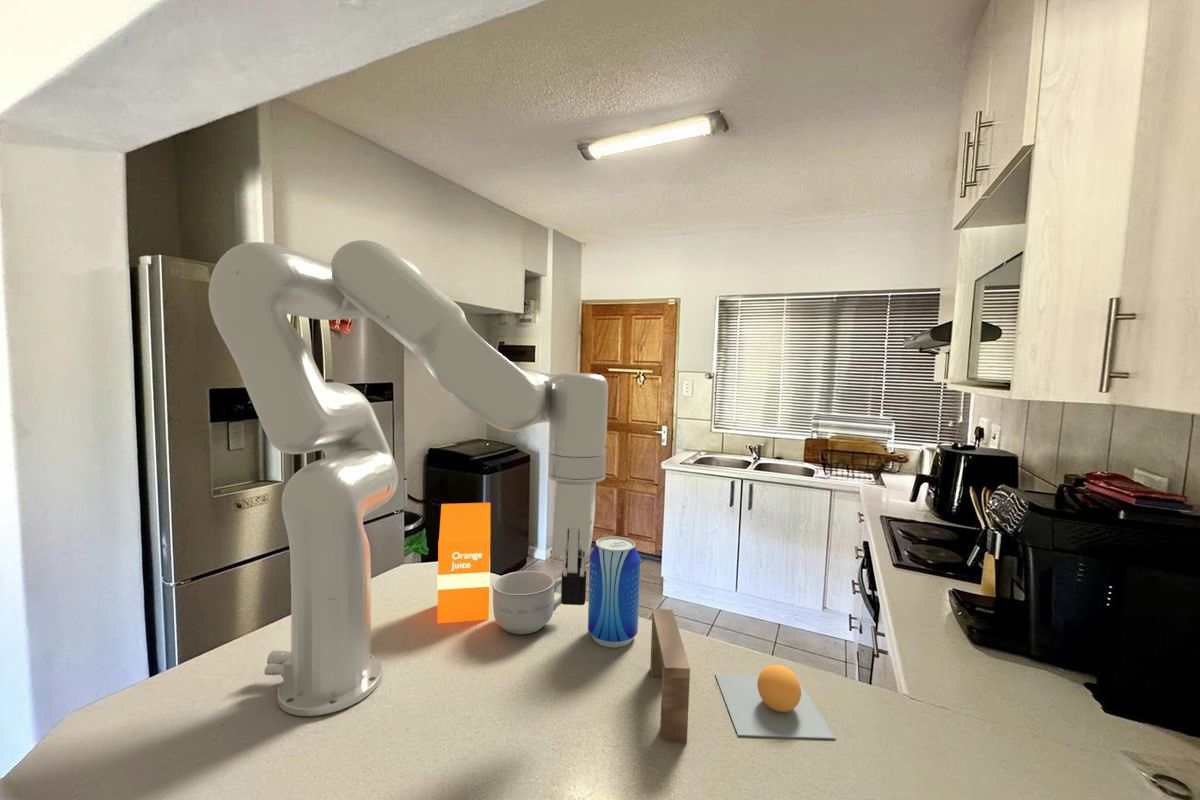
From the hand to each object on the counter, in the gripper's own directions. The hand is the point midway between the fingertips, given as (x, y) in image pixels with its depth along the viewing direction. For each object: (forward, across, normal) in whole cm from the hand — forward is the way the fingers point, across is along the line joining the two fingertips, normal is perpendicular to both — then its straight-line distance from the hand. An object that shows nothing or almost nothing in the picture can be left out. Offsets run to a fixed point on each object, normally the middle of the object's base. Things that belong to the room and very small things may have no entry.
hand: (573, 601), depth 65 cm
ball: (+11, 0, +28) cm, 30 cm away
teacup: (+14, -19, -8) cm, 25 cm away
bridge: (+13, 0, +13) cm, 19 cm away
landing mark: (+13, 0, +27) cm, 30 cm away
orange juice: (+14, -23, -21) cm, 34 cm away
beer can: (+14, -16, +6) cm, 22 cm away
